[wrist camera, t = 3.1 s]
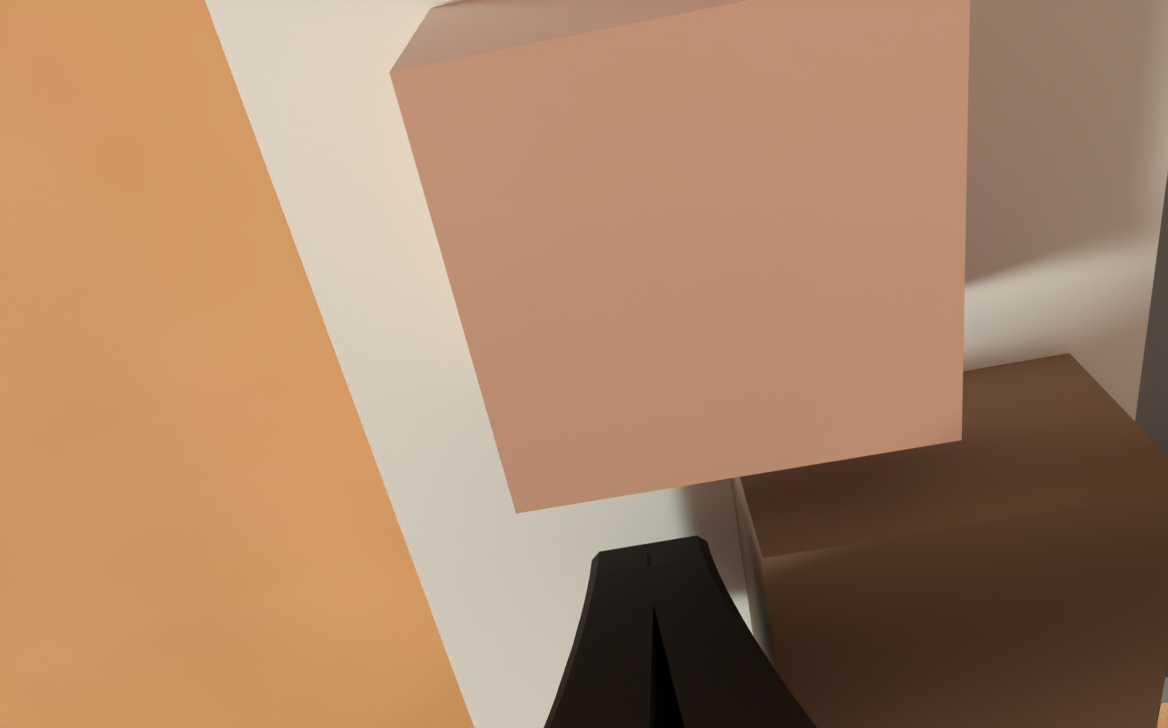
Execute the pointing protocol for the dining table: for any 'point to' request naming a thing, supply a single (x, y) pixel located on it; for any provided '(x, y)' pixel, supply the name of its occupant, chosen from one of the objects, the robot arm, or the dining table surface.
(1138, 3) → the white board
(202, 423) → the dining table surface
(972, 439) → the walnut block
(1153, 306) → the grey box
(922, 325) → the terracotta tile
